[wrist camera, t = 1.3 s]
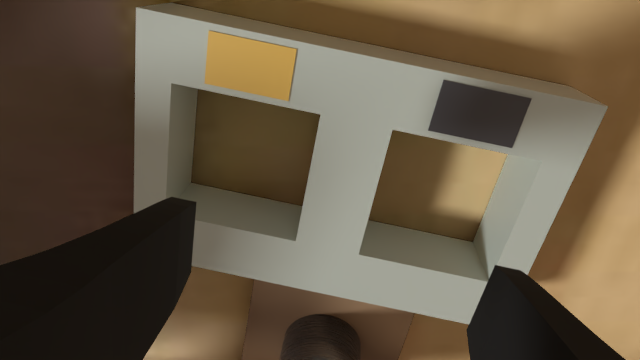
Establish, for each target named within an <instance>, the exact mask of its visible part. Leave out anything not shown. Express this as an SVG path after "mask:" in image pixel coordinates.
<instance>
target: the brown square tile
mask: <svg viewBox="0 0 640 360" xmlns="http://www.w3.org/2000/svg"><path fill="white" fill-rule="evenodd" d="M313 314H325V315H331V316H334V317H337V318H340V319H342V320H344V321H345V322H347V323H348V324H349V325H351V326H352V327H353V328H354V330H355V331H356V332H357V334H358V336H359V339H360V343H361V360H398V358H399V355H400V352H401V350H402V347H403V344H404V341H405V339H406V336H407V333H408V330H409V328H410V325H411V322H412V319H413V317H414V314H415V313H412V312H407V311H403V310H398V309H393V308H388V307H384V306H379V305H374V304H369V303H365V302H360V301H355V300H350V299H346V298H341V297H336V296H332V295H327V294H322V293H317V292H313V291H308V290H303V289H298V288H294V287H289V286H284V285H279V284H275V283H270V282H265V281H260V280H256V279H254V284H253V290H252V296H251V303H250V309H249V316H248V322H247V329H246V335H245V341H244V348H243V354H242V360H279V358H280V354H281V349H282V344H283V340H284V336H285V333H286V331H287V329H288V327H289V326H290V325H291V324H292V323H293V322H295V321H296V320H298V319H299V318H302V317H304V316H308V315H313Z"/></svg>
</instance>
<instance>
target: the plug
mask: <svg viewBox="0 0 640 360" xmlns="http://www.w3.org/2000/svg"><path fill="white" fill-rule="evenodd" d="M279 360H361V343H360V339H359V336H358V334H357V332H356V331H355V330H354V328H353V327H352V326H351V325H349V324H348V323H347V322H345V321H344V320H342V319H340V318H337V317H334V316H331V315H325V314H313V315H308V316H304V317H302V318H299V319H298V320H296V321H295V322H293V323H292V324H291V325H290V326H289V327H288V329H287V331H286V333H285V336H284V340H283V344H282V349H281V354H280V358H279Z"/></svg>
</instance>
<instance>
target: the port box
mask: <svg viewBox="0 0 640 360" xmlns="http://www.w3.org/2000/svg"><path fill="white" fill-rule="evenodd" d="M198 89H201V90H206V91H211V92H216V93H220V94H225V95H230V96H235V97H239V98H244V99H249V100H254V101H258V102H263V103H268V104H273V105H277V106H282V107H287V108H292V109H296V110H301V111H306V112H311V113H315V114H320V120H319V125H318V130H317V135H316V141H315V146H314V151H313V156H312V161H311V166H310V171H309V176H308V181H307V186H306V191H305V196H304V202H303V206H299V205H294V204H289V203H285V202H280V201H275V200H270V199H266V198H261V197H256V196H251V195H247V194H242V193H237V192H233V191H228V190H223V189H218V188H214V187H209V186H204V185H199V184H195V183H191V178H192V164H193V150H194V136H195V122H196V108H197V95H198ZM607 108H608V106H606V105H605V104H603V103H601V102H599V101H597V100H595V99H593V98H591V97H590V96H588V95H586V94H584V93H582V92H580V91H578V90H576V89H574V88H573V87H571V86H566V85H562V84H557V83H552V82H547V81H543V80H538V79H533V78H528V77H524V76H519V75H514V74H509V73H504V72H500V71H495V70H490V69H485V68H481V67H476V66H471V65H466V64H462V63H457V62H452V61H447V60H443V59H438V58H433V57H428V56H423V55H419V54H414V53H409V52H404V51H400V50H395V49H390V48H385V47H381V46H376V45H371V44H366V43H362V42H357V41H352V40H347V39H342V38H338V37H333V36H328V35H323V34H319V33H314V32H309V31H304V30H300V29H295V28H290V27H285V26H281V25H276V24H271V23H266V22H261V21H257V20H252V19H247V18H242V17H238V16H233V15H228V14H223V13H219V12H214V11H209V10H204V9H200V8H195V7H190V6H185V5H181V4H176V3H164V4H157V5H149V6H142V7H136V50H135V139H134V213H136V212H138V211H140V210H142V209H145V208H147V207H149V206H151V205H153V204H155V203H157V202H160V201H162V200H164V199H167V198H169V197H175V198H180V199H185V200H190V201H194V202H197V203H196V216H195V228H194V241H193V253H192V266H194V267H199V268H204V269H208V270H213V271H218V272H223V273H227V274H232V275H237V276H242V277H246V278H251V279H256V280H260V281H265V282H270V283H275V284H279V285H284V286H289V287H294V288H298V289H303V290H308V291H313V292H317V293H322V294H327V295H332V296H336V297H341V298H346V299H350V300H355V301H360V302H365V303H369V304H374V305H379V306H384V307H388V308H393V309H398V310H403V311H407V312H412V313H417V314H422V315H426V316H431V317H436V318H441V319H445V320H450V321H455V322H459V323H464V324H470V321H471V319H472V317H473V314H474V312H475V310H476V308H477V305H478V303H479V301H480V298H481V296H482V294H483V292H484V289H485V287H486V285H487V282H488V280H489V278H490V275H491V273H492V271H493V269H494V266H495V265H498V266H503V267H507V268H512V269H517V270H521V271H522V272H524V273H525V274H526V275H528V273H529V271H530V269H531V267H532V265H533V263H534V260H535V258H536V256H537V254H538V252H539V250H540V248H541V246H542V244H543V242H544V240H545V238H546V235H547V233H548V231H549V229H550V227H551V225H552V223H553V221H554V219H555V217H556V215H557V212H558V210H559V208H560V206H561V204H562V202H563V200H564V198H565V196H566V194H567V192H568V190H569V187H570V185H571V183H572V181H573V179H574V177H575V175H576V173H577V171H578V169H579V167H580V165H581V162H582V160H583V158H584V156H585V154H586V152H587V150H588V148H589V146H590V144H591V142H592V139H593V137H594V135H595V133H596V131H597V129H598V127H599V125H600V123H601V121H602V119H603V117H604V114H605V112H606V110H607ZM392 130H396V131H401V132H406V133H410V134H415V135H420V136H425V137H429V138H434V139H439V140H444V141H449V142H453V143H458V144H463V145H468V146H472V147H477V148H482V149H487V150H491V151H496V152H501V153H506V154H508V156H507V158H506V161H505V163H504V166H503V168H502V171H501V173H500V176H499V178H498V181H497V183H496V186H495V188H494V191H493V193H492V196H491V198H490V201H489V203H488V206H487V208H486V211H485V213H484V216H483V218H482V221H481V223H480V226H479V228H478V231H477V233H476V236H475V238H474V241H473V242H470V241H465V240H460V239H456V238H451V237H446V236H441V235H437V234H432V233H427V232H422V231H418V230H413V229H408V228H403V227H399V226H394V225H389V224H384V223H380V222H375V221H370V220H368V218H369V215H370V211H371V207H372V204H373V200H374V196H375V193H376V189H377V185H378V182H379V178H380V174H381V171H382V167H383V163H384V160H385V156H386V152H387V149H388V145H389V141H390V138H391V134H392Z"/></svg>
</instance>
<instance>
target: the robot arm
mask: <svg viewBox="0 0 640 360" xmlns="http://www.w3.org/2000/svg"><path fill="white" fill-rule="evenodd" d="M196 203H197V202H194V201H190V200H185V199H180V198H175V197H169V198H167V199H164V200H162V201H160V202H157V203H155V204H153V205H151V206H149V207H147V208H145V209H142V210H140V211H138V212H136V213H134V214H132V215H130V216H128V217H125V218H123V219H121V220H119V221H117V222H115V223H112V224H110V225H108V226H106V227H104V228H101V229H99V230H96V231H94V232H92V233H89V234H87V235H84V236H82V237H79V238H77V239H74V240H72V241H70V242H67V243H65V244H62V245H60V246H57V247H54V248H52V249H49V250H46V251H43V252H40V253H38V254H35V255H32V256H29V257H25V258H22V259H19V260H16V261H13V262H10V263H7V264H3V265H0V360H143V358H144V357H145V355H146V353H147V352H148V350H149V349H150V347H151V345H152V344H153V342H154V341H155V339H156V337H157V336H158V334H159V333H160V331H161V329H162V328H163V326H164V324H165V323H166V321H167V320H168V318H169V316H170V315H171V313H172V311H173V310H174V308H175V306H176V304H177V302H178V300H179V298H180V295H181V293H182V291H183V289H184V287H185V284H186V282H187V280H188V277H189V275H190V273H191V266H192V253H193V241H194V228H195V216H196ZM467 336H468V345H469V353H470V360H625V359H624V358H623V357H622V356H620V355H619V354H618V353H617V352H616V351H614V350H613V349H612V348H611V347H610V346H608V345H607V344H606V343H605V342H604V341H602V340H601V339H600V338H599V337H598V336H597V335H595V334H594V333H593V332H592V331H591V330H590V329H589V328H587V327H586V326H585V325H584V324H583V323H582V322H581V321H579V320H578V319H577V318H576V317H575V316H574V315H573V314H572V313H570V312H569V311H568V310H567V309H566V308H565V307H564V306H563V305H562V304H560V303H559V302H558V301H557V300H556V299H555V298H554V297H553V296H551V295H550V294H549V293H548V292H547V291H546V290H545V289H543V288H542V287H541V286H540V285H539V284H538V283H536V282H535V281H534V280H533V279H532V278H530V277H529V276H528V275H526V274H525V273H524V272H522V271H521V270H517V269H512V268H507V267H503V266H498V265H495V266H494V269H493V271H492V273H491V275H490V278H489V280H488V282H487V285H486V287H485V289H484V292H483V294H482V296H481V298H480V301H479V303H478V305H477V308H476V310H475V312H474V314H473V317H472V319H471V321H470V324H469V326H468V328H467Z"/></svg>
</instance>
